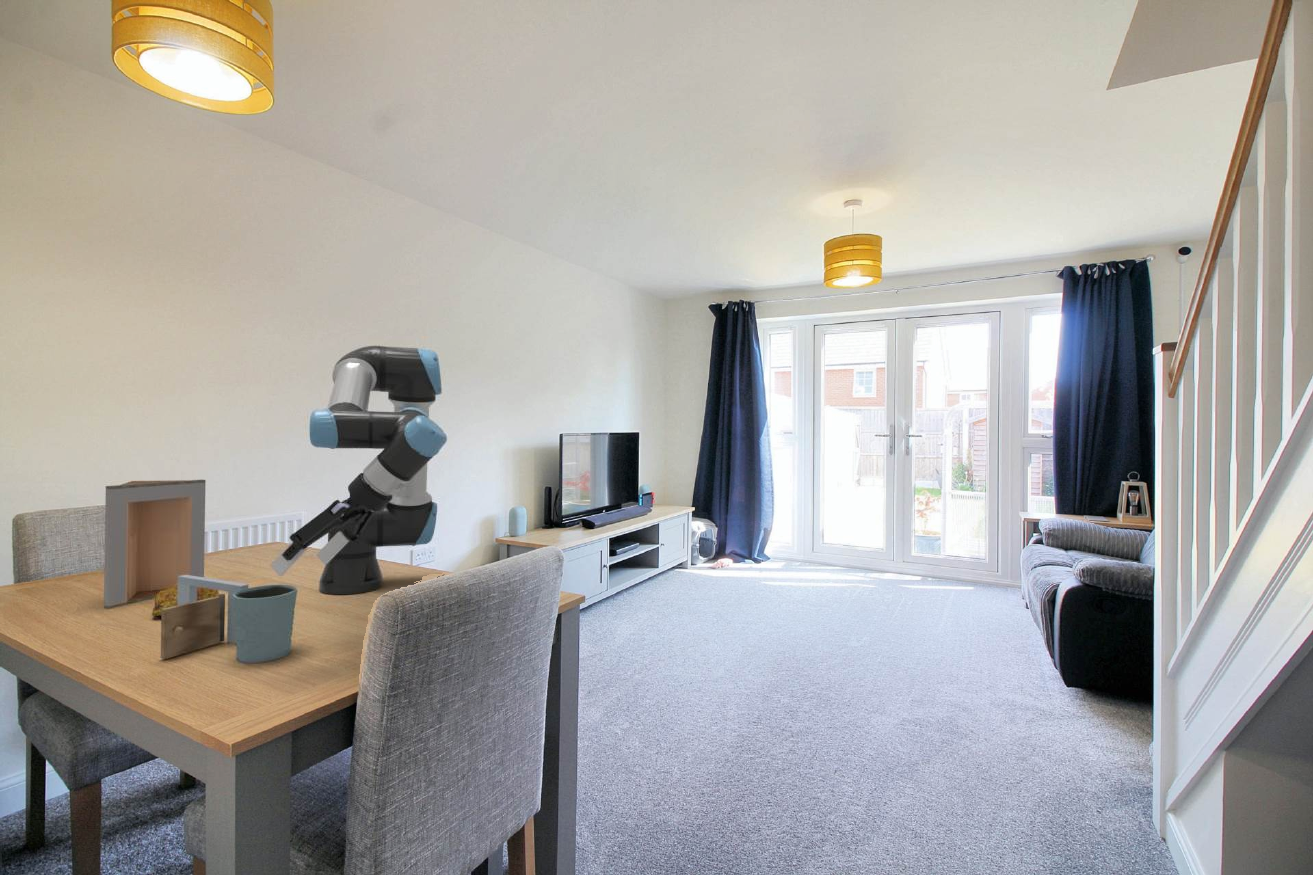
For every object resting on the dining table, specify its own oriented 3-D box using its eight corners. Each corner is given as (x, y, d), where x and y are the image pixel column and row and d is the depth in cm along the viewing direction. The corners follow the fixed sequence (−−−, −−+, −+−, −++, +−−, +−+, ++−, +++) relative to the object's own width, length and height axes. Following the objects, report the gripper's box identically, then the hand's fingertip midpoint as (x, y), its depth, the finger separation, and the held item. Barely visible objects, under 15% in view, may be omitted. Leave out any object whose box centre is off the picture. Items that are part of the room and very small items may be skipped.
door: (222, 640, 118) (223, 593, 118) (229, 641, 117) (230, 594, 117) (160, 658, 109) (161, 607, 109) (167, 660, 108) (168, 609, 108)
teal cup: (225, 667, 106) (226, 600, 106) (239, 647, 116) (240, 585, 115) (291, 660, 110) (292, 595, 110) (299, 641, 120) (300, 581, 119)
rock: (184, 637, 131) (143, 609, 127) (180, 633, 137) (141, 606, 133) (228, 595, 138) (191, 567, 134) (223, 593, 144) (187, 566, 140)
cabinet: (108, 608, 136) (110, 486, 136) (81, 603, 139) (83, 484, 139) (203, 586, 156) (205, 479, 155) (178, 582, 159) (180, 477, 158)
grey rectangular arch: (247, 641, 119) (248, 584, 118) (239, 644, 117) (241, 586, 117) (184, 629, 124) (185, 574, 124) (176, 631, 123) (177, 576, 123)
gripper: (356, 501, 101) (268, 591, 101) (419, 495, 126) (349, 568, 126) (326, 470, 102) (238, 560, 102) (395, 470, 127) (325, 543, 126)
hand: (299, 564), depth 114 cm, fingers open, 13 cm apart
